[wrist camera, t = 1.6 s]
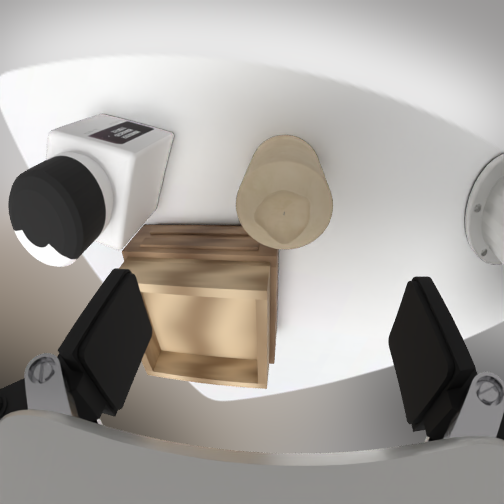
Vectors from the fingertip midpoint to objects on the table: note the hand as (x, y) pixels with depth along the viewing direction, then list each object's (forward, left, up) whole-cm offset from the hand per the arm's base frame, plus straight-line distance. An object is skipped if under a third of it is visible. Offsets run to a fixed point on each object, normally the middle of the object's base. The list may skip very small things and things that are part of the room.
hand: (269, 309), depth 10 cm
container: (+14, -1, -17) cm, 22 cm away
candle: (0, 0, -17) cm, 17 cm away
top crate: (+7, +12, -12) cm, 18 cm away
